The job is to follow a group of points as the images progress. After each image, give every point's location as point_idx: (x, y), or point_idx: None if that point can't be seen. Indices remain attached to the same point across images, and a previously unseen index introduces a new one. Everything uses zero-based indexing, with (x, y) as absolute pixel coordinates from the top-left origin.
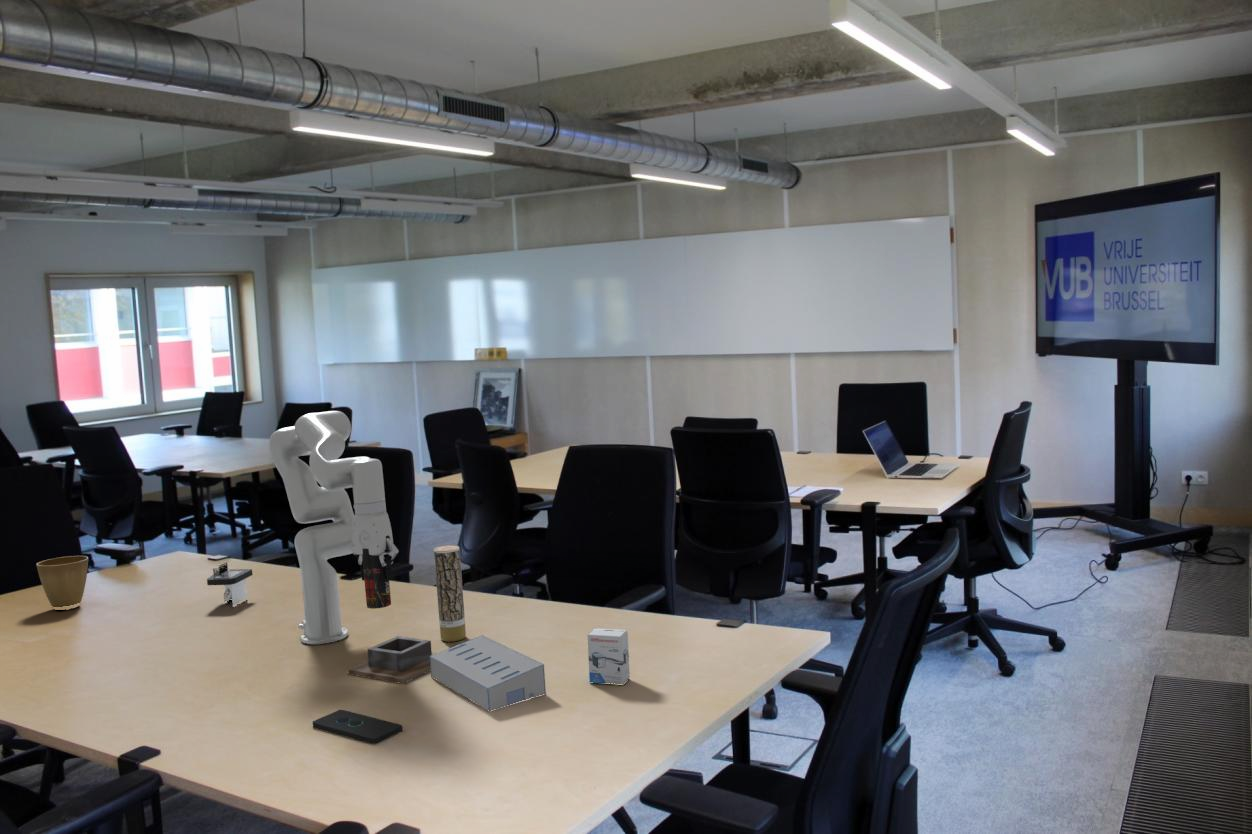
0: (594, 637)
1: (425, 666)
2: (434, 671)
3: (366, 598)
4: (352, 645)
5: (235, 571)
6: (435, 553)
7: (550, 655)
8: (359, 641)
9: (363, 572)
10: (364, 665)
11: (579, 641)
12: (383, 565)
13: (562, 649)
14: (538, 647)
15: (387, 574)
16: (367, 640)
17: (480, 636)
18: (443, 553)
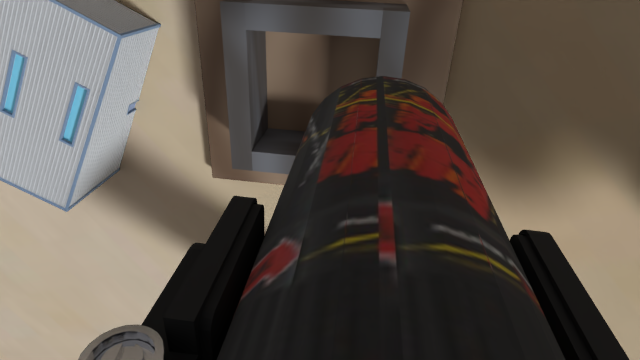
0: None
1: (211, 71)
2: (121, 15)
3: (439, 114)
4: (632, 211)
5: None
6: None
7: (28, 246)
8: (625, 245)
9: (546, 291)
10: (433, 11)
11: (51, 324)
12: (148, 343)
13: (39, 281)
14: (94, 283)
15: (182, 268)
16: (599, 257)
17: (65, 203)
18: None
